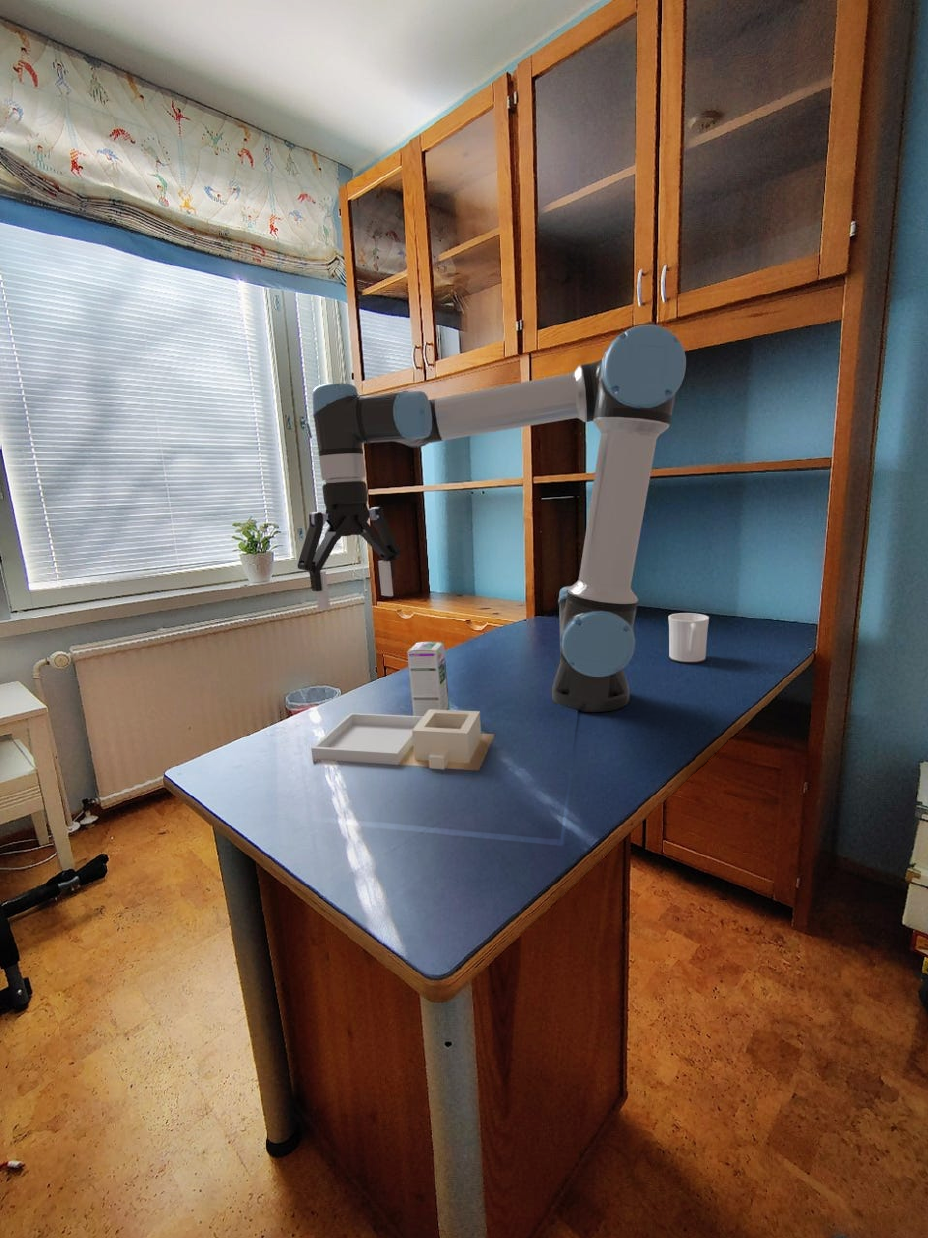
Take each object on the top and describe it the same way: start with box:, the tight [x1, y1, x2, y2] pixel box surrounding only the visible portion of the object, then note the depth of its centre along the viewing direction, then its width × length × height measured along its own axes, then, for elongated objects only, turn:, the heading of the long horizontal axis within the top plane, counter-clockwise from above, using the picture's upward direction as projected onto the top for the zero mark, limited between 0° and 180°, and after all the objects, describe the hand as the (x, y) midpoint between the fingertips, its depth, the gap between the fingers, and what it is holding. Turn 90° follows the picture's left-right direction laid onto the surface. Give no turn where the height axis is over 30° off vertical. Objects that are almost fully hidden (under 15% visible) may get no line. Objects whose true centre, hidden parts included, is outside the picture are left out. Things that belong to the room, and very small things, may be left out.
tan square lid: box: [398, 728, 496, 771], centre depth 95 cm, size 13×13×4 cm
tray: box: [311, 712, 423, 766], centre depth 99 cm, size 15×15×2 cm
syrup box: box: [406, 641, 450, 716], centre depth 108 cm, size 6×6×14 cm
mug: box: [667, 612, 710, 665], centre depth 134 cm, size 11×9×10 cm
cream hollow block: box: [412, 709, 482, 770], centre depth 93 cm, size 9×12×5 cm
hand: (357, 602), depth 103 cm, fingers open, 13 cm apart
